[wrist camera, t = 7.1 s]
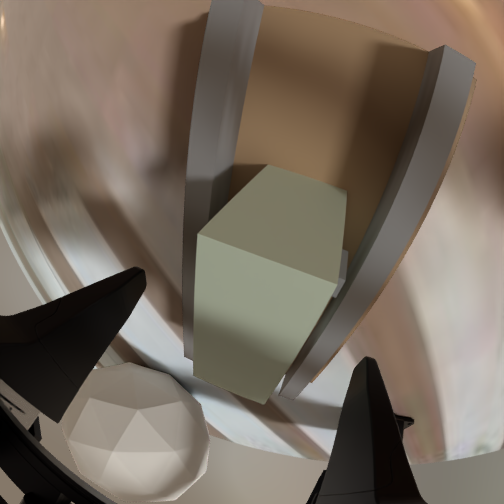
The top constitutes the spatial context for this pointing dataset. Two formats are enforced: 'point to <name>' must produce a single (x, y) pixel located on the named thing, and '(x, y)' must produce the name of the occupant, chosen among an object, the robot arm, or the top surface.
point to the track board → (322, 142)
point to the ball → (137, 433)
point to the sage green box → (265, 279)
